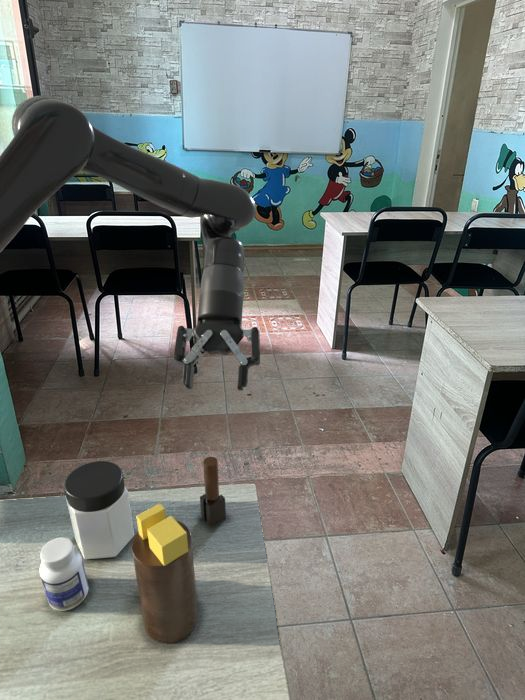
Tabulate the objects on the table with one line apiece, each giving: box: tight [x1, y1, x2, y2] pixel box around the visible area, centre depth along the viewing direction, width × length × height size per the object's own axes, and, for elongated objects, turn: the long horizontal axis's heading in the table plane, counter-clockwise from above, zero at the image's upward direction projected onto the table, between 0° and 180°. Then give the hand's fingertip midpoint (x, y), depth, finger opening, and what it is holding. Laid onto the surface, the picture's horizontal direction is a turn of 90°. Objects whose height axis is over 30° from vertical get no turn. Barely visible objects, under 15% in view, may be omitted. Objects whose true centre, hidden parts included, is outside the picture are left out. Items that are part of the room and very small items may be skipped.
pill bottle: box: [38, 536, 89, 612], centre depth 64 cm, size 5×5×9 cm
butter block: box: [147, 515, 188, 566], centre depth 55 cm, size 3×3×3 cm
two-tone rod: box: [202, 456, 220, 515], centre depth 76 cm, size 2×2×12 cm
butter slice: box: [135, 503, 167, 540], centre depth 58 cm, size 1×3×3 cm, turn 131°
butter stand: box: [131, 519, 199, 644], centre depth 60 cm, size 7×7×14 cm
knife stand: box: [199, 493, 227, 528], centre depth 78 cm, size 3×3×4 cm
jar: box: [63, 460, 135, 560], centre depth 72 cm, size 9×8×12 cm
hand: (214, 388), depth 78 cm, fingers open, 8 cm apart
